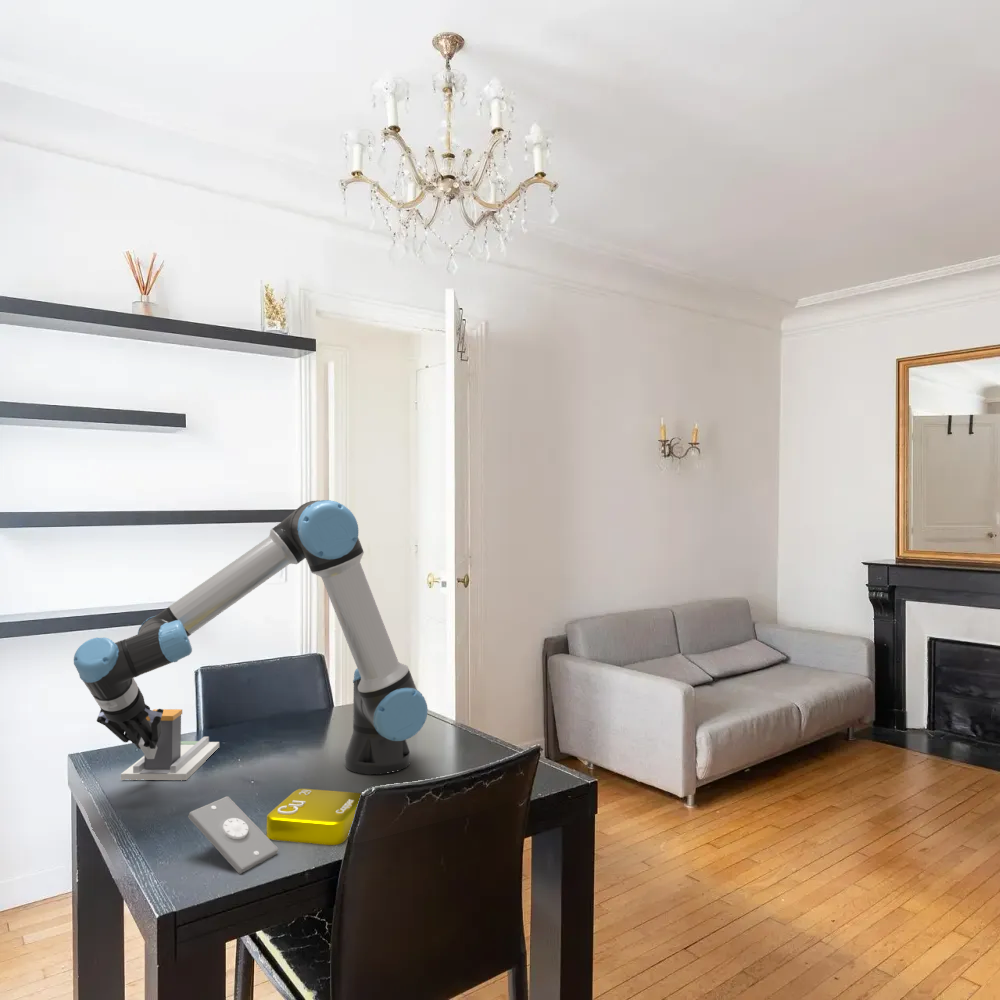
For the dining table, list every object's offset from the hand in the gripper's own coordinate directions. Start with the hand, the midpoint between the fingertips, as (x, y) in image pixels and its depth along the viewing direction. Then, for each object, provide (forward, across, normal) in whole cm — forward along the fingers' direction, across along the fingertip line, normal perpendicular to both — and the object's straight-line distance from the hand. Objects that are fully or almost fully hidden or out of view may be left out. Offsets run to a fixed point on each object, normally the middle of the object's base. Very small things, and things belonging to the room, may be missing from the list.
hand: (152, 753), depth 167 cm
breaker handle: (+6, +1, 0) cm, 6 cm away
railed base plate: (+12, +1, +3) cm, 12 cm away
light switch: (-21, +28, -30) cm, 46 cm away
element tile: (-12, +40, -22) cm, 47 cm away
